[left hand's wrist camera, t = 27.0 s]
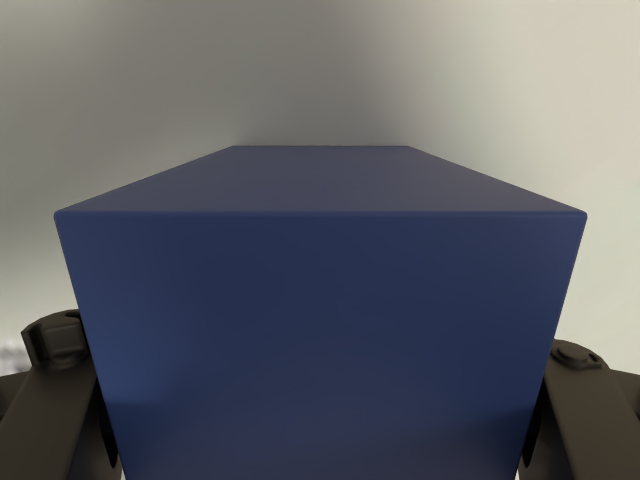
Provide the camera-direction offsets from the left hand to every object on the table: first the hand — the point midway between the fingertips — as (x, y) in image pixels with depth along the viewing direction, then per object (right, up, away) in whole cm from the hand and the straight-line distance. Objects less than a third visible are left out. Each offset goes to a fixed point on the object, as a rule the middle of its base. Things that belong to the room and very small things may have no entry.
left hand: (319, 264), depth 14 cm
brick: (0, +1, +2) cm, 2 cm away
